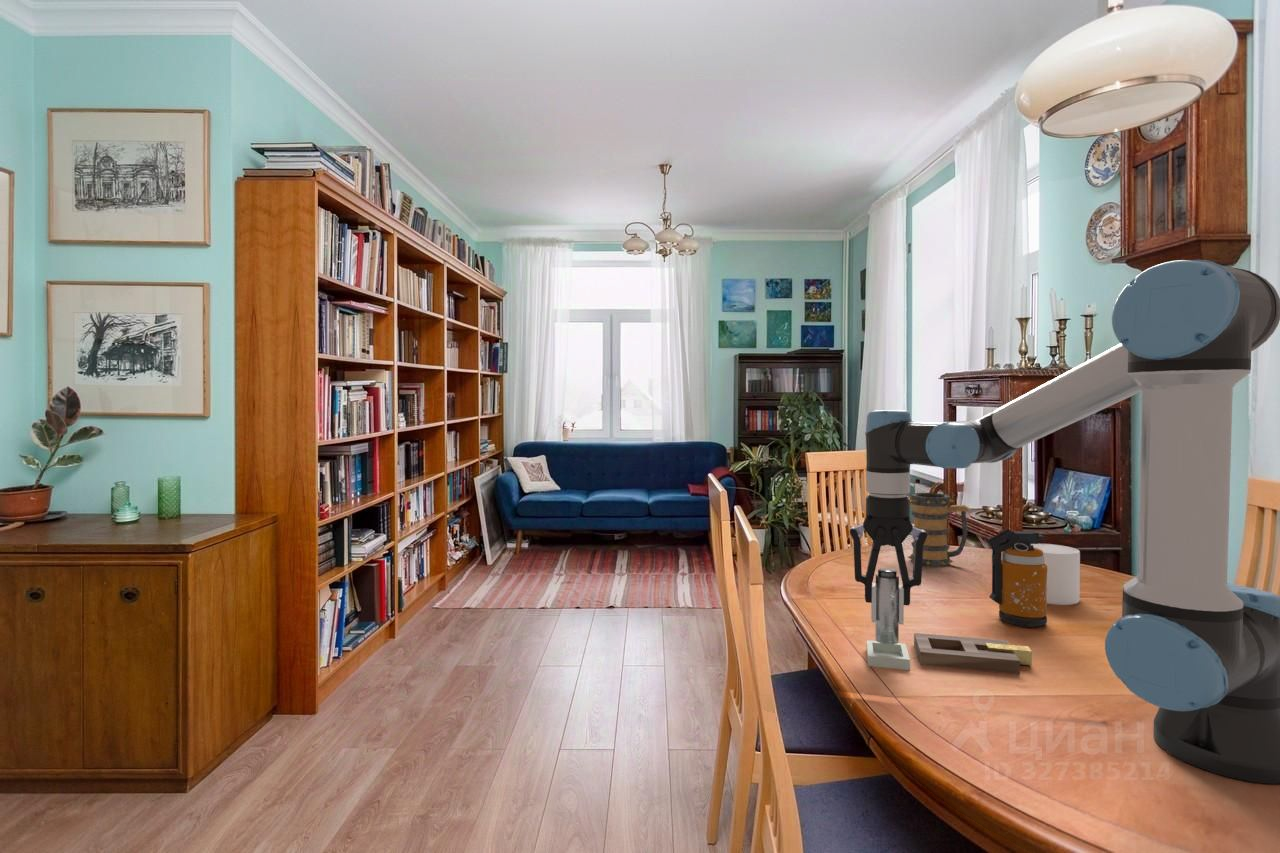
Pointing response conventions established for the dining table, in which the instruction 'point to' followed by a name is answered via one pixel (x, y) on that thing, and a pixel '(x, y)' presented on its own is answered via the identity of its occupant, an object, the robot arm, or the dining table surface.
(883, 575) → the metal round-nosed cylinder
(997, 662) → the socket block
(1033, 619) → the canister
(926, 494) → the mug
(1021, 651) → the bar
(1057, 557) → the cup
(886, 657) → the pale grey square tray
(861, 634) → the dining table surface
